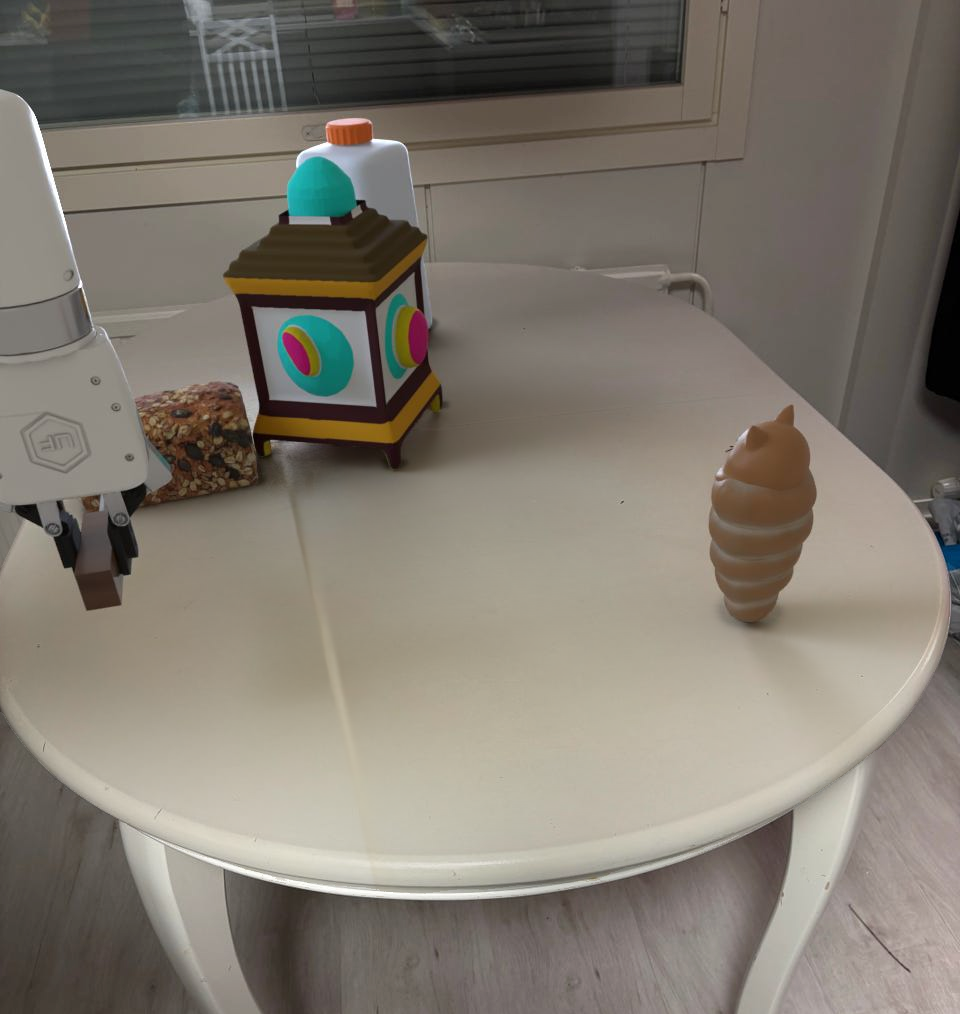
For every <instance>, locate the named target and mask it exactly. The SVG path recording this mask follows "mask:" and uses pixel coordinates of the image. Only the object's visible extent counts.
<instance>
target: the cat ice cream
mask: <svg viewBox="0 0 960 1014" xmlns="http://www.w3.org/2000/svg"><path fill="white" fill-rule="evenodd" d="M794 425H795V407H794V404H789V405H787V406H786V407H784V408H783V409H782V410H781V411H780V412H779V413H778V414H777V415H776V417H775V418H774V419H773V420H769V421H763V422H761V423H757V424H752V425H751V426H750V427H749V428H747V429H745V431H744V432H743V433H741V435H740V436H739V437H738V438H736V440H735V441H736V442H735V443H734V445H729V447H730V448H729V449H727V450H725V451H724V453H727V452H729V454H728V456H727V457H726V460H725V463H724V465H723V466H721V467H720V468H719V469H718V470H717V471H716V473H715V475H714V482H713V484H712V486H711V494H710V499H711V507H710V510H709V515H708V531H709V535H710V537H711V541H710V545H709V558H710V559H709V560H710V561H711V563H712V565H713V567H714V578H715V580H716V584H717V586H718V588H719V590H720V591H721V592H722V594H723V601H724V605H725V609H726V610H727V612H728V613H729V615H730V616H731V617H732V618H734V619H735V620H738V621H741V622H747V623H754V622H759V621H761V620H764V619H765V618H767V617H768V616H769V615H770V614H771V613H772V611H773V609H774V608H775V606H776V604H777V602H778V599H779V596H780V592H781V591H783V590H784V589H785V588H786V587H787V586H788V584H789V583H790V582H791V581H792V578H793V575H794V570H795V566H796V564H797V563H798V561H799V560H800V557H801V554H802V551H803V546H804V542H805V541H806V540H807V539H808V538H809V536H810V535H811V533H812V530H813V525H814V510H813V508H814V505H815V504H816V500H817V496H818V491H817V490H818V489H817V485H816V482H815V477H814V475H813V473H812V471H811V469H810V465H811V464H810V463H811V451H810V450H811V449H810V446H809V443H808V440H807V439H806V437H805V436H804V434H803V433H802V432H801V431H800V430H799V429H797V428H796V427H795V426H794Z"/></svg>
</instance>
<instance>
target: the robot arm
mask: <svg viewBox="0 0 960 1014" xmlns="http://www.w3.org/2000/svg"><path fill="white" fill-rule="evenodd" d="M70 238H71V237H70V235H69V231H68V228H67V223H66V220H65V217H64V213H63V209H62V206H61V203H60V199H59V194H58V191H57V188H56V184H55V180H54V176H53V173H52V169H51V166H50V162H49V158H48V155H47V151H46V147H45V144H44V140H43V136H42V133H41V130H40V127H39V124H38V120H37V118H36V116H35V113H34V111H33V110H32V108H31V107H30V105H29V104H28V103H27V101H25V100H24V99H23V98H22V97H21V96H19V94H16V93H14V92H11V91H8V90H5V89H0V512H4V513H9V514H12V513H14V514H16V515H18V516H19V517H21V518H23V519H24V520H27V521H28V522H29V523H32V524H33V525H36V526H38V527H39V528H42V529H43V532H44V533H45V534H46V535H47V536H49V537H52V538H53V541H54V544H55V547H56V550H57V553H58V555H59V559H60V561H61V564H62V567H63V569H71V570H72V574H73V576H74V577H75V569H76V562H77V555H78V550H79V542H80V535H81V529H80V526H79V522H78V519H77V517H74V515H73V514H70V512H68V511H67V510H66V507H65V503H64V501H65V500H72V499H81V498H80V497H87V496H94V495H100V494H102V495H103V498H104V501H105V503H106V506H107V509H108V524H107V533H108V537H109V540H110V543H111V547H112V548H113V551H114V554H115V557H116V560H117V564H118V567H119V570H120V573H121V574H123V577H125V576H131V575H132V563H133V559H136V558H139V556H140V555H139V554H140V553H139V546H138V542H137V538H136V534H135V531H134V528H133V524H132V520H131V517H132V516H133V515H134V513H135V512H136V511H137V509H138V508H139V507H140V506H139V505H140V504H141V503H142V501H143V500H144V499H145V497H146V495H148V494H149V493H151V492H154V491H156V490H157V489H159V488H161V487H162V486H164V485H165V484H167V483H169V482H170V481H171V480H172V467H171V466H170V465H169V463H168V462H167V461H166V460H165V459H164V457H163V456H162V455H161V454H160V453H159V451H158V450H157V449H156V448H155V447H154V445H153V444H152V443H151V442H150V441H149V440H148V438H147V437H146V436H145V432H144V428H143V425H142V421H141V418H140V415H139V412H138V409H137V406H136V403H135V400H134V399H135V397H134V394H133V392H132V389H131V386H130V383H129V381H128V378H127V375H126V373H125V370H124V367H123V364H122V362H121V360H120V358H119V356H118V354H117V351H116V350H115V347H114V345H113V343H112V341H111V339H110V336H109V335H108V333H107V332H106V329H104V328H103V327H102V326H100V325H96V324H94V323H93V319H92V315H91V312H90V308H89V304H88V300H87V297H86V294H85V289H84V285H83V282H82V280H81V275H80V272H79V268H78V264H77V260H76V256H75V254H74V250H73V246H72V242H71V239H70Z"/></svg>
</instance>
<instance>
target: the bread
mask: <svg viewBox="0 0 960 1014" xmlns="http://www.w3.org/2000/svg"><path fill="white" fill-rule="evenodd" d="M134 400H135V403H136V406H137V409H138V412H139V415H140V418H141V421H142V425H143V428H144V432H145V436H146V437H147V438H148V440H149V441H150V442H151V443H152V444H153V445H154V447H155V448H156V449H157V450H158V451H159V453H160V454H161V455H162V456H163V457H164V459H165V460H166V461H167V462H168V463H169V465H170V466H171V467H172V480H171V481H170V482H169V483H167V484H165V485H164V486H162V487H161V488H159V489H157V490H156V491H154V492H151V493H149V494H148V495H146V497H145V499H144V500H143V501H142V503H141V504H140V505H139V506H138V507H143V506H149V505H154V504H160V503H165V502H170V501H176V500H180V499H181V500H182V499H186V498H193V497H197V496H200V495H207V494H213V493H217V492H218V493H219V492H221V491H228V490H233V489H237V488H240V487H242V488H243V487H246V486H251V485H256V484H259V483H260V482H259V472H258V467H257V465H258V464H257V456H256V455H257V454H256V450H255V446H254V441H253V432H252V430H251V429H252V428H251V426H250V422H249V419H248V413H247V411H246V410H247V409H246V406H245V401H244V397H243V394H242V391H241V390H240V387H239V386H238V385H237V384H235V383H232V382H227V381H226V382H225V381H220V380H219V381H210V382H205V383H202V384H196V383H195V384H192V385H189V386H185V387H182V388H178V389H165V390H162V391H157V392H154V393H152V394H144V395H143V396H137V397H136V398H135V397H134ZM100 498H101V494H100V495H94V496H87V497H80V498H79V499H80V500H81V503H82V506H83V507H84V509H85V510H86V513H90V512H97V511H99V507H100Z"/></svg>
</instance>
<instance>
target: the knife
mask: <svg viewBox="0 0 960 1014" xmlns="http://www.w3.org/2000/svg"><path fill="white" fill-rule="evenodd" d="M107 524H108V509H107V506H106V503H105V501H104V498H103V495H102V494H101V498H100V507H99V511H97V512H90V513H88V512H84V513H82V520H81V527H80V528H81V529H80V532H81V535H80V542H79V550H78V555H77V562H76V569H75V576H74V579H75V581H76V584H77V587H78V590H79V591H78V592H79V594H80V596H81V600H82V603H83V605H84V608H85V611H86V612H89V611H90V612H91V611H96V610H101V609H107V608H114V607H120V606H122V605H123V592H124V591H123V589H124V576H123V574H121V573H120V570H119V567H118V564H117V560H116V557H115V554H114V551H113V548H112V547H111V543H110V540H109V537H108V533H107Z"/></svg>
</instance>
